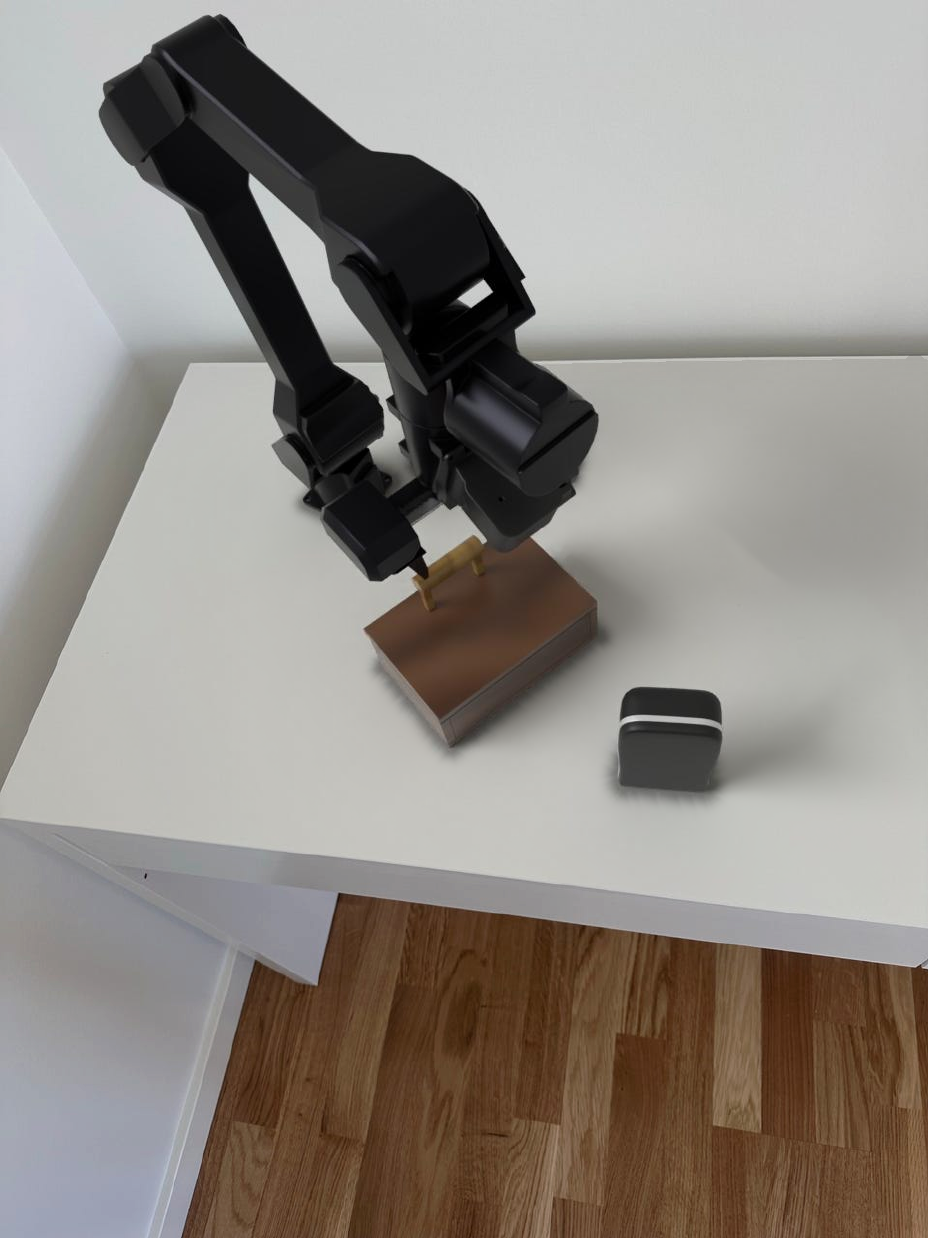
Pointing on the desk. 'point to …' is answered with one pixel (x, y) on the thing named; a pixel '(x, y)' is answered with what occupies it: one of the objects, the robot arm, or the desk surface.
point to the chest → (503, 681)
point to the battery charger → (669, 738)
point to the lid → (476, 620)
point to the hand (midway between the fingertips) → (472, 539)
